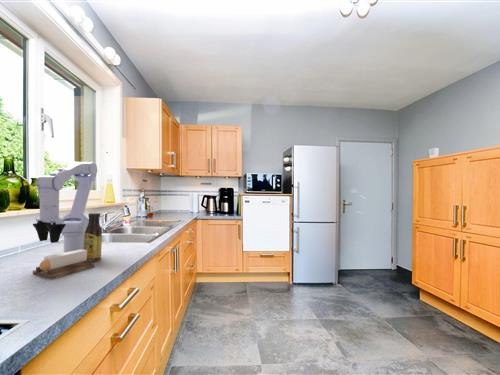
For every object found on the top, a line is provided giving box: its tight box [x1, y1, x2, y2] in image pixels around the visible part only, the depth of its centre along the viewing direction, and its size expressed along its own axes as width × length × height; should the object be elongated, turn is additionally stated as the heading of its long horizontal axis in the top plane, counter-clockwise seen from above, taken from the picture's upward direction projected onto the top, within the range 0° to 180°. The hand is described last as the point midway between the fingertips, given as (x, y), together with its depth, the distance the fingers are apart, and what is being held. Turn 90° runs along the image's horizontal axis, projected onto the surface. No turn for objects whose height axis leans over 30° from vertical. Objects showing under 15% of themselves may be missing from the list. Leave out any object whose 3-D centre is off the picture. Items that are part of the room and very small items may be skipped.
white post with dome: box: [39, 249, 87, 272], centre depth 86 cm, size 14×4×5 cm, turn 156°
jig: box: [32, 259, 96, 280], centre depth 87 cm, size 14×12×2 cm
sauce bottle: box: [84, 212, 103, 263], centre depth 99 cm, size 6×6×20 cm
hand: (48, 241), depth 91 cm, fingers open, 7 cm apart
